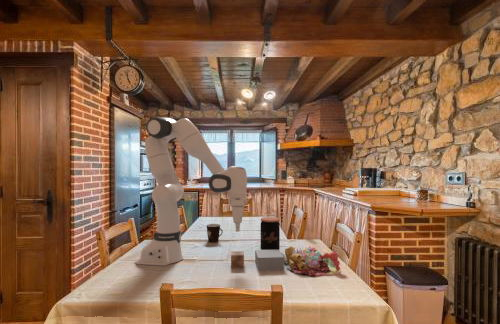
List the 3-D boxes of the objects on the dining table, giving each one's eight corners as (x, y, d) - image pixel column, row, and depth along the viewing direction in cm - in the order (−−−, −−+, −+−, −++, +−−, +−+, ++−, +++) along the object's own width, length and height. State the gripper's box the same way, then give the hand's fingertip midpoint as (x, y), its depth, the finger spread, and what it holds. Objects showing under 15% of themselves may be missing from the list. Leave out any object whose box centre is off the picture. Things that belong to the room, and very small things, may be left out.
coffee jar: (258, 253, 153) (258, 219, 154) (262, 247, 164) (262, 216, 164) (278, 254, 151) (278, 220, 151) (280, 248, 161) (280, 217, 161)
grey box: (257, 271, 128) (258, 257, 128) (255, 262, 140) (255, 249, 140) (283, 270, 129) (284, 257, 129) (278, 261, 141) (279, 249, 141)
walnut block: (231, 268, 130) (231, 255, 131) (231, 263, 136) (231, 251, 136) (243, 268, 131) (244, 255, 131) (243, 263, 137) (243, 251, 137)
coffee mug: (204, 240, 179) (204, 224, 180) (217, 238, 183) (217, 223, 183) (210, 244, 169) (210, 228, 169) (223, 243, 172) (223, 226, 173)
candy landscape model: (297, 280, 118) (297, 257, 118) (277, 261, 141) (277, 243, 141) (349, 274, 125) (349, 253, 125) (321, 257, 147) (321, 239, 147)
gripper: (231, 197, 144) (231, 224, 144) (230, 202, 124) (230, 234, 124) (244, 197, 145) (244, 224, 144) (244, 202, 124) (244, 234, 124)
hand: (237, 229), depth 134 cm, fingers open, 8 cm apart
